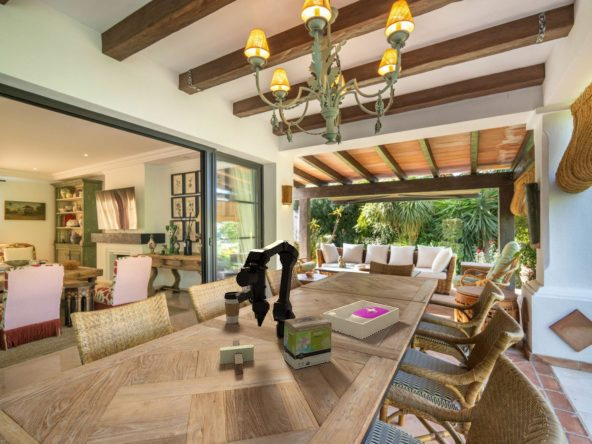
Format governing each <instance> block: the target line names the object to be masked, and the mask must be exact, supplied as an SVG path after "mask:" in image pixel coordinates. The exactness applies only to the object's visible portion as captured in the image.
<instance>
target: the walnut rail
mask: <svg viewBox="0 0 592 444" xmlns="http://www.w3.org/2000/svg"><path fill="white" fill-rule="evenodd" d="M233 346H241V343H240V339H239V340H232V347H233ZM233 364H234V365H233V366H234V372H235V375H241V374H244V361H243V359H242V353H236V354H234V363H233Z"/></svg>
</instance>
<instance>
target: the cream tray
mask: <svg viewBox="0 0 592 444" xmlns="http://www.w3.org/2000/svg"><path fill="white" fill-rule="evenodd" d="M322 318H324V319H326V320H328V321H330V322H331V323H332V331H334V330H335V331H334V332H337V331H339V332H338V333H340V332H342V333H341V334H343V333H345V334H344V335H346V334H348V335H347V336H349V335H351V336H350V337H352V336H354V337H353V338H355V337H357V338H356V339H358V338H360V339H359V340H361V339H363V338H365V339H366V337H367V338H369V337H371V336H372V334H373V335H374V333H375V334H377V333H379V332H381V331H382V329H383V330H384V329H386V328H388V327H391V326H393V325H395V324H396V323H398V322H400V308H399V307H395V306H390V305H385V304H381V303H376V302H371V301H367V300H364V299H363V300H358V301H356V302H352V303H349V304H346V305H344V306H339V307H337V308H334V309H331V310H328V311H325V312H323V313H322ZM380 330H381V331H380ZM378 331H379V332H378ZM376 332H377V333H376ZM370 335H371V336H370ZM368 336H369V337H368ZM363 340H364V339H363Z"/></svg>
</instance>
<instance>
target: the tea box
mask: <svg viewBox="0 0 592 444" xmlns="http://www.w3.org/2000/svg"><path fill="white" fill-rule="evenodd" d="M332 331H333V330H332V323H331V322H330V321H328V320H326V319H324V318H323V316H320V315H318V314H317V315H311V316H303V317H296V318H295V319H289V320H285V325H284V338H283V359H284V361H286V362H287V363H288V365H290V366H291V368H292V369H294V370H295V371H296V370H298V369H302V368H303V369H304V368H307V367H311V366H316V365H320V364H324V363H325V362H326V363H330V362H331V361H332V360H331V358H332ZM329 361H330V362H329Z"/></svg>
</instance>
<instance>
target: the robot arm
mask: <svg viewBox="0 0 592 444" xmlns="http://www.w3.org/2000/svg"><path fill="white" fill-rule="evenodd" d="M299 253H300V252H299V250H298V249H297V248H296V246H294V245H292V244H291V243H289V241H287V240H284V239H278V240H275V242H273V243H271V244H269V245H267V246H265V247H262V248H254V249H251V250H249V253H248V254H247V256H246V259H245V261H244V264H243V266H242V267H240V271H239V272H237V274H236V276H235V282H236V285H238V286H239V287H241V288H245V287H248V288H247V289H243V290H241V291H237V292H238V293H236V297H237V300H238V303H239V304H240V305H241V304H242V303H244V302H246V301H248V302H249V303H250V305H251V311H252V312H253V315H254V319H255V320H256V322H257V327H258V328H259V327H262V326H263V323H264V321H265V318H266V317H267V315H268V312H269V311H270V309H271V307H270V305H271V304H270V303H269V301H268V300H267V295H266V293H267V291H266V289H267V285H266V283H267V282H266V276H267V274H266V271H267V270H269V266H268V265H267V264H269V262H270V261H271V258H272V257H274V256H275V255H278V256H279V262H280V264H281V266H282V267H281V273H280V275H281V276H280V283H279V293H278V299H277V300H276V301H274V302H273V307H272V317H273V322H276V324H275V334H276V336H277V338H279V339H284V325H285V320H289V319H296V318H297V316H296V314H294V312H293V304H292V303H291V300H290V297H291V288H292V279H293V278H292V277H293V270H294V267H295V265H296V264H297V263H298V258H299Z"/></svg>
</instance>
